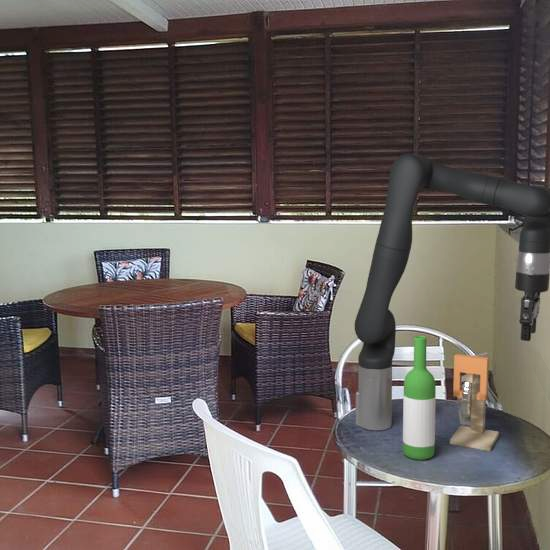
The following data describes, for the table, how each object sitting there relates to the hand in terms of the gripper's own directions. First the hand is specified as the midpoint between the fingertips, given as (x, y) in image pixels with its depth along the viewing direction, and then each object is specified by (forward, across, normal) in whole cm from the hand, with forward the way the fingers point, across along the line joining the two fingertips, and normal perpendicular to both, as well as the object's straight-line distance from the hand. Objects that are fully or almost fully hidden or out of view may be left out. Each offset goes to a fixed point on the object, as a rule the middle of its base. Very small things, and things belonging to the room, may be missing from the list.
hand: (528, 336), depth 161 cm
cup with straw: (+30, -14, -16) cm, 37 cm away
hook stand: (+30, -1, -12) cm, 32 cm away
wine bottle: (+30, +13, -22) cm, 40 cm away
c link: (+16, +4, -12) cm, 21 cm away
